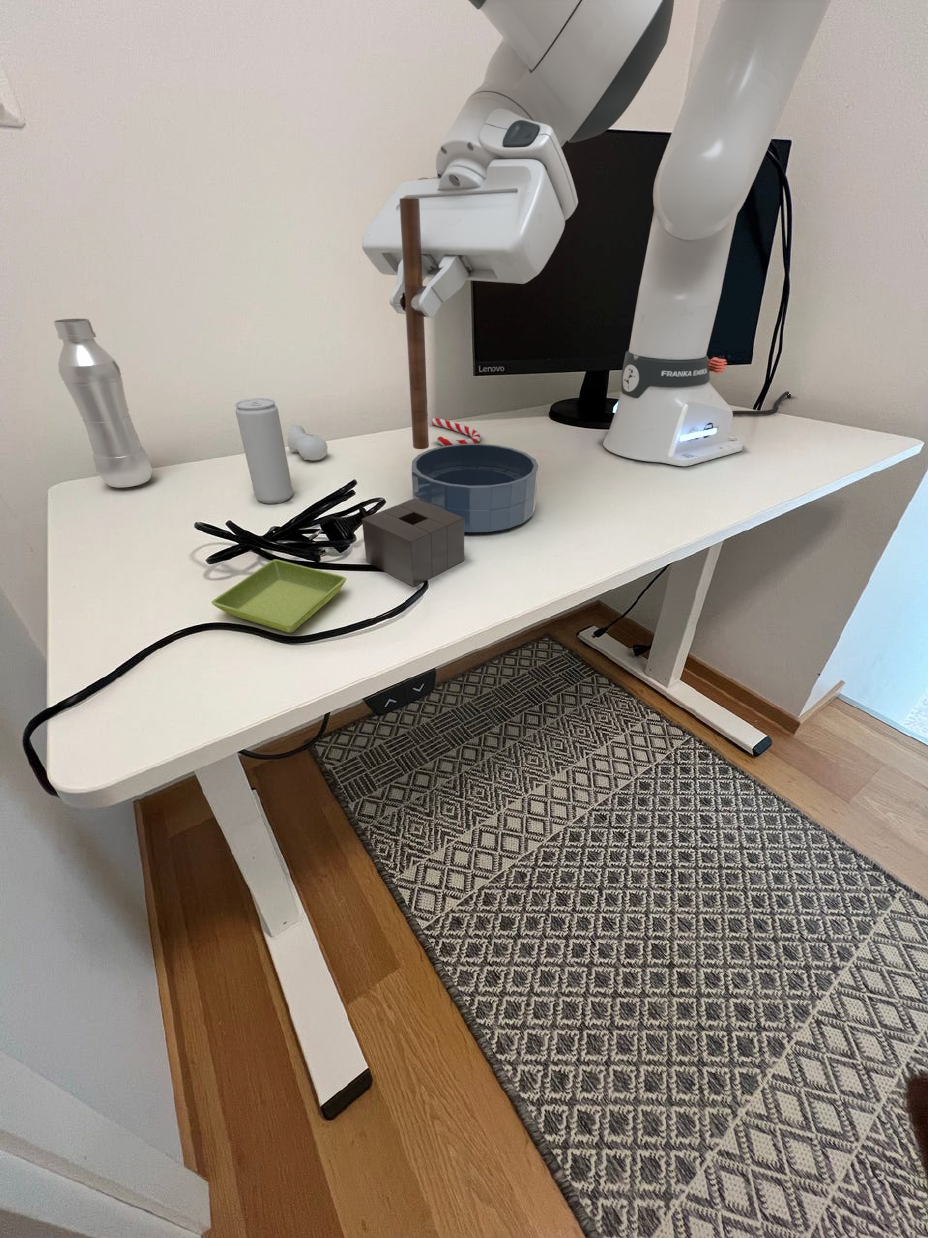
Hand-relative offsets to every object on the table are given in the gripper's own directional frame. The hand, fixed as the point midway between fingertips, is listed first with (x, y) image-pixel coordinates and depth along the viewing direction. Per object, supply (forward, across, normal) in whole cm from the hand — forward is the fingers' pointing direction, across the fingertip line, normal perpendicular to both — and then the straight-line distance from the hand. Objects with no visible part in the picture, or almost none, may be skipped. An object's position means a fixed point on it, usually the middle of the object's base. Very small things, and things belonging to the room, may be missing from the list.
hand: (409, 310), depth 48 cm
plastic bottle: (+28, -42, +4) cm, 50 cm away
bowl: (+8, -2, +24) cm, 26 cm away
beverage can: (+20, -23, +13) cm, 33 cm away
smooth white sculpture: (+11, -34, +22) cm, 42 cm away
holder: (+18, +2, +14) cm, 23 cm away
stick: (+8, 0, +9) cm, 12 cm away
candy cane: (-5, -27, +38) cm, 47 cm away
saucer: (+29, +1, +4) cm, 29 cm away
